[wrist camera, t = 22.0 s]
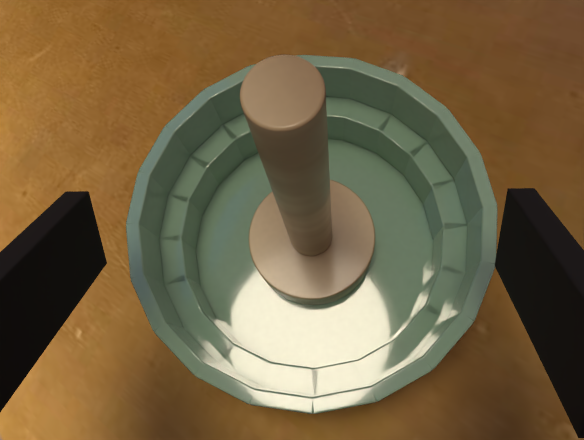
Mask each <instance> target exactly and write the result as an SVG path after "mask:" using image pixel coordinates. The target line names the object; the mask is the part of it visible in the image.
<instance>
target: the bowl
mask: <svg viewBox="0 0 584 440" xmlns="http://www.w3.org/2000/svg"><path fill="white" fill-rule="evenodd" d="M297 57H300V58H303V59H305V60H307V61H308V62H310V63H311V64H312V65H314V66H315V67H316V68H317V69H318V71H319V72H320V74H321V75H322V77H323V80H324V83H325V88H326V108H327V129H328V151H329V172H330V180H333V181H336V182H339V183H341V184H343V185H345V186H346V187H348V188H349V189H351V190H352V191H353V192H354V193H356V194H357V195H358V196H359V197H360V198H361V200H362V201H363V202H364V204H365V205H366V207H367V208H368V210H369V212H370V214H371V217H372V220H373V223H374V228H375V247H374V253H373V256H372V260H371V263H370V266H369V269H368V271H367V273H366V275H365V276H364V278H363V279H362V281H361V282H360V283H359V284H358V286H357V287H356V288H355V289H354V290H352V291H351V292H350V293H349V294H347V295H346V296H344V297H342V298H340V299H338V300H336V301H333V302H330V303H326V304H321V305H306V304H300V303H296V302H293V301H291V300H288V299H286V298H284V297H282V296H281V295H279V294H278V293H277V292H275V291H274V290H273V289H272V288H271V287H270V286H269V285H268V284H267V282H266V281H265V280H264V279H263V277H262V276H261V275H260V273H259V272H258V270H257V269H256V267H255V265H254V263H253V260H252V257H251V254H250V249H249V229H250V225H251V221H252V218H253V216H254V213H255V211H256V210H257V208H258V206H259V205H260V203H261V202H262V201H263V199H264V198H265V197H266V196H267V195H268V194H269V193H271V192H272V189H271V186H270V183H269V181H268V178H267V175H266V172H265V170H264V167H263V164H262V161H261V159H260V156H259V153H258V150H257V148H256V145H255V142H254V140H253V137H252V134H251V131H250V129H249V126H248V123H247V120H246V118H245V115H244V112H243V109H242V106H241V103H240V89H241V85H242V83H243V80H244V78H245V76H246V75H247V73H248V72H249V71H250V70H251V69H252V68H253V67H254V66H255V65H256V64H254V65H250V66H248V67H246V68H244V69H242V70H240V71H238V72H236V73H234V74H232V75H231V76H229V77H227V78H225V79H223V80H221V81H219V82H217V83H215V84H213V85H211V86H209V87H207V88H205V89H204V90H203V91H201V92H200V93H199V94H198V95H197V96H196V97H195V98H194V99H193V100H192V101H191V102H190V103H189V104H187V105H186V106H185V107H184V108H183V109H182V110H181V111H180V112H179V113H178V114H177V115H176V116H175V117H174V118H173V119H172V120H171V121H169V122H168V123H167V124H166V126H165V127H164V128H163V130H162V131H161V133H160V135H159V137H158V138H157V140H156V142H155V143H154V145H153V147H152V149H151V150H150V152H149V154H148V155H147V157H146V159H145V161H144V162H143V164H142V166H141V167H140V169H139V172H138V174H137V178H136V182H135V186H134V191H133V195H132V199H131V204H130V208H129V212H128V217H127V221H126V224H127V225H126V233H127V244H128V256H129V267H130V278H131V282H132V284H133V286H134V289H135V291H136V293H137V295H138V298H139V300H140V302H141V305H142V307H143V309H144V311H145V314H146V316H147V318H148V320H149V323H150V325H151V327H152V330H153V331H154V332H155V334H156V335H157V336H158V337H159V338H160V339H161V340H162V342H163V343H164V344H165V345H166V346H167V347H168V348H169V349H170V350H171V351H172V352H173V353H174V354H175V356H176V357H177V358H178V359H179V360H180V361H181V362H182V363H183V364H184V365H185V366H186V367H187V368H188V370H189V371H190V372H191V373H192V374H193V375H195V376H196V377H197V378H199V379H201V380H203V381H205V382H207V383H209V384H211V385H213V386H215V387H216V388H218V389H220V390H222V391H224V392H226V393H228V394H230V395H232V396H234V397H235V398H237V399H239V400H241V401H243V402H245V403H247V404H250V405H254V406H261V407H267V408H274V409H281V410H287V411H294V412H301V413H307V414H317V413H323V412H328V411H333V410H339V409H344V408H349V407H355V406H360V405H365V404H370V403H375V402H376V401H380V400H382V399H384V398H385V397H387V396H389V395H391V394H392V393H394V392H396V391H397V390H399V389H401V388H403V387H404V386H406V385H408V384H410V383H411V382H413V381H415V380H417V379H418V378H420V377H422V376H424V375H425V374H427V373H429V372H430V371H432V369H434V368H435V367H436V366H437V365H438V364H439V363H440V361H441V360H442V359H443V358H444V357H445V356H446V354H447V353H448V352H449V351H450V350H451V349H452V347H453V346H454V345H455V344H456V343H457V342H458V340H459V339H460V338H461V337H462V336H463V335H464V333H465V332H466V331H467V330H468V329H469V328H470V326H471V325H472V324H473V321H475V319H476V316H477V313H478V311H479V308H480V306H481V303H482V300H483V298H484V295H485V293H486V290H487V287H488V285H489V282H490V280H491V277H492V274H493V272H494V269H495V260H496V247H497V203H496V200H495V197H494V194H493V191H492V188H491V184H490V181H489V178H488V175H487V172H486V169H485V166H484V163H483V159H482V156H481V153H479V150H478V149H477V148H476V146H475V145H474V144H473V142H472V141H471V139H470V138H469V137H468V135H467V134H466V133H465V131H464V130H463V129H462V127H461V126H460V124H459V123H458V122H457V120H456V119H455V118H454V116H453V115H452V114H451V112H450V111H449V109H447V108H446V107H445V106H444V105H443V104H441V103H440V102H439V101H437V100H436V99H434V98H433V97H432V96H430V95H429V94H428V93H426V92H425V91H424V90H422V89H421V88H419V87H418V86H417V85H415V84H414V83H413V82H411V81H410V80H409V79H407V78H406V77H404V76H402V75H400V74H397V73H394V72H391V71H388V70H386V69H383V68H380V67H377V66H374V65H372V64H369V63H366V62H363V61H360V60H358V59H353V58H342V57H327V56H311V55H297Z"/></svg>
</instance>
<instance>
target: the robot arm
mask: <svg viewBox="0 0 584 440" xmlns="http://www.w3.org/2000/svg"><path fill="white" fill-rule="evenodd" d="M106 264H107V262H106V258H105V254H104V250H103V246H102V242H101V238H100V234H99V231H98V227H97V223H96V219H95V215H94V211H93V207H92V203H91V199H90V195H89V192H65V193H64V194H63V195H62V196H61V197H60V198H58V199H57V200H56V201H55V202H54V203H53V204H52V205H51V206H50V207H49V208H48V209H47V210H45V211H44V212H43V213H42V214H41V215H40V216H39V217H38V218H37V219H36V220H35V221H34V222H32V223H31V224H30V225H29V226H28V227H27V228H26V229H25V230H24V231H23V232H22V233H21V234H19V235H18V236H17V237H16V238H15V239H14V240H13V241H12V242H11V243H10V244H9V245H8V246H7V247H5V248H4V249H3V250H2V251H1V252H0V412H1V410H2V409H3V408H4V406H5V405H6V403H7V402H8V401H9V399H10V398H11V396H12V395H13V394H14V392H15V391H16V389H17V388H18V387H19V385H20V384H21V383H22V381H23V380H24V378H25V377H26V376H27V374H28V373H29V371H30V370H31V369H32V367H33V366H34V364H35V363H36V362H37V360H38V359H39V357H40V356H41V355H42V353H43V352H44V350H45V349H46V348H47V346H48V345H49V343H50V342H51V341H52V339H53V338H54V336H55V335H56V334H57V332H58V331H59V329H60V328H61V327H62V325H63V324H64V322H65V321H66V320H67V318H68V317H69V315H70V314H71V313H72V311H73V310H74V308H75V307H76V306H77V304H78V303H79V301H80V300H81V299H82V297H83V296H84V294H85V293H86V292H87V290H88V289H89V287H90V286H91V285H92V283H93V282H94V280H95V279H96V278H97V276H98V275H99V273H100V272H101V271H102V269H103V268H104V266H105V265H106ZM495 267H496V269H497V271H498V273H499V275H500V277H501V279H502V282H503V284H504V286H505V288H506V290H507V292H508V294H509V296H510V298H511V300H512V302H513V304H514V306H515V308H516V310H517V312H518V314H519V316H520V318H521V321H522V323H523V325H524V327H525V329H526V331H527V333H528V335H529V337H530V339H531V341H532V343H533V345H534V347H535V349H536V351H537V353H538V355H539V358H540V360H541V362H542V364H543V366H544V368H545V370H546V372H547V374H548V376H549V378H550V380H551V382H552V384H553V386H554V388H555V390H556V392H557V394H558V397H559V399H560V401H561V403H562V405H563V407H564V409H565V411H566V413H567V415H568V417H569V419H570V421H571V423H572V425H573V427H574V429H575V431H576V434H577V436H578V438H584V250H583V249H582V248H581V246H580V245H579V244H578V243H577V241H576V240H575V239H574V238H573V236H572V235H571V234H570V233H569V231H568V230H567V229H566V228H565V226H564V225H563V224H562V223H561V221H560V220H559V219H558V218H557V216H556V215H555V214H554V213H553V211H552V210H551V209H550V208H549V206H548V205H547V204H546V203H545V201H544V200H543V199H542V198H541V196H540V195H539V194H538V192H537V191H536V190H535V189H534V188H524V189H508V191H507V196H506V202H505V208H504V214H503V220H502V225H501V231H500V237H499V243H498V249H497V254H496V260H495Z"/></svg>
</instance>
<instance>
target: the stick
mask: <svg viewBox="0 0 584 440" xmlns="http://www.w3.org/2000/svg"><path fill="white" fill-rule="evenodd" d="M240 103H241V106H242V109H243V112H244V115H245V118H246V120H247V123H248V126H249V129H250V131H251V134H252V137H253V140H254V142H255V145H256V148H257V150H258V153H259V156H260V159H261V161H262V164H263V167H264V170H265V172H266V175H267V178H268V181H269V183H270V186H271V189H272V192H271V193H269V194H268V195H267V196H266V197H265V198H264V199H263V201H262V202H261V203H260V205H259V206H258V208H257V210H256V211H255V213H254V216H253V218H252V221H251V225H250V229H249V249H250V254H251V257H252V260H253V263H254V265H255V267H256V269H257V270H258V272H259V273H260V275H261V276H262V277H263V279H264V280H265V281H266V282H267V284H268V285H269V286H270V287H271V288H272V289H273V290H274V291H275V292H277V293H278V294H279V295H281V296H282V297H284V298H286V299H288V300H291V301H293V302H296V303H300V304H306V305H321V304H326V303H330V302H333V301H336V300H338V299H340V298H342V297H344V296H346V295H347V294H349V293H350V292H351V291H352V290H354V289H355V288H356V287H357V286H358V284H359V283H360V282H361V281H362V279H363V278H364V276H365V275H366V273H367V271H368V269H369V266H370V263H371V260H372V256H373V253H374V247H375V228H374V223H373V220H372V217H371V214H370V212H369V210H368V208H367V207H366V205H365V204H364V202H363V201H362V200H361V198H360V197H359V196H358V195H357V194H356V193H354V192H353V191H352V190H351V189H349V188H348V187H346V186H345V185H343V184H341V183H339V182H336V181H333V180H330V172H329V151H328V129H327V108H326V88H325V83H324V80H323V77H322V75H321V74H320V72H319V71H318V69H317V68H316V67H315V66H314V65H312V64H311V63H310V62H308V61H307V60H305V59H303V58H300V57H297V56H293V55H277V56H272V57H269V58H266V59H264V60H262V61H260V62H259V63H257V64H256V65H255V66H254V67H253V68H252V69H251V70H250V71H249V72H248V73H247V75H246V76H245V78H244V80H243V83H242V85H241V89H240Z"/></svg>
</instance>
